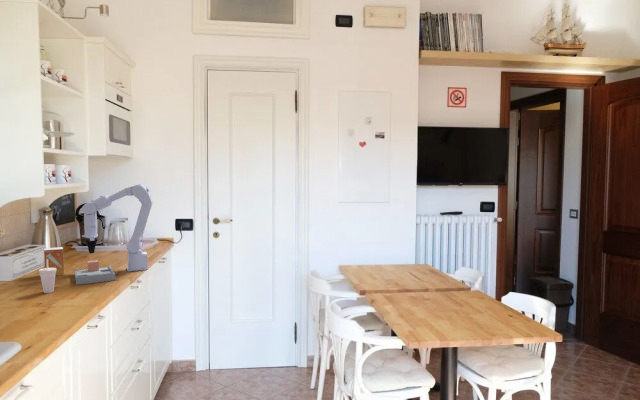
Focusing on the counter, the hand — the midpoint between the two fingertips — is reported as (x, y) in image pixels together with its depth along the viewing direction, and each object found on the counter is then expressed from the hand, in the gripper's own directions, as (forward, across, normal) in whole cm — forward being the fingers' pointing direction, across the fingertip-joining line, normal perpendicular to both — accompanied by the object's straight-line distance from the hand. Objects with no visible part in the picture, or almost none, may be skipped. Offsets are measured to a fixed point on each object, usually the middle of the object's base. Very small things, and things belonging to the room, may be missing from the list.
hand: (91, 253), depth 223 cm
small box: (+10, -2, -16) cm, 19 cm away
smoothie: (+10, +32, -18) cm, 39 cm away
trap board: (+9, +14, 0) cm, 17 cm away
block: (+7, +8, 0) cm, 11 cm away
